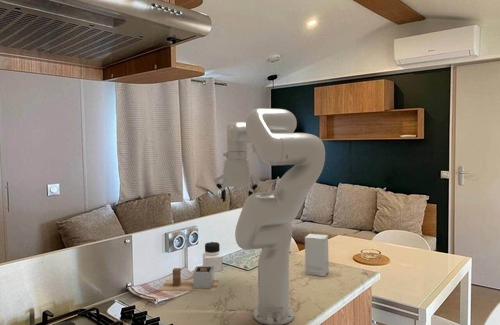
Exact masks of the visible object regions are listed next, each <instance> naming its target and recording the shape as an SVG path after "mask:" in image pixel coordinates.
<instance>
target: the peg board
mask: <svg viewBox="0 0 500 325" xmlns="http://www.w3.org/2000/svg"><path fill="white" fill-rule="evenodd" d="M181 271H182V270H181V268H180V267H178V268H177V267H174V268H173V269H172V279H166V281H165V282H164V284H163V285H162V287H161V288H160V290H159V292H160V291H161V292H162V291H167V292H168V291H171V292H174V291H175V292H177V291H179V292H181V291H182V292H184V291H185V292H215V291H217V287H218V285H219V281H220V280H215V279H214V283H213V286H212V289H193V279H182V278H181ZM200 272H207V268H201V269H200Z"/></svg>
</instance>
